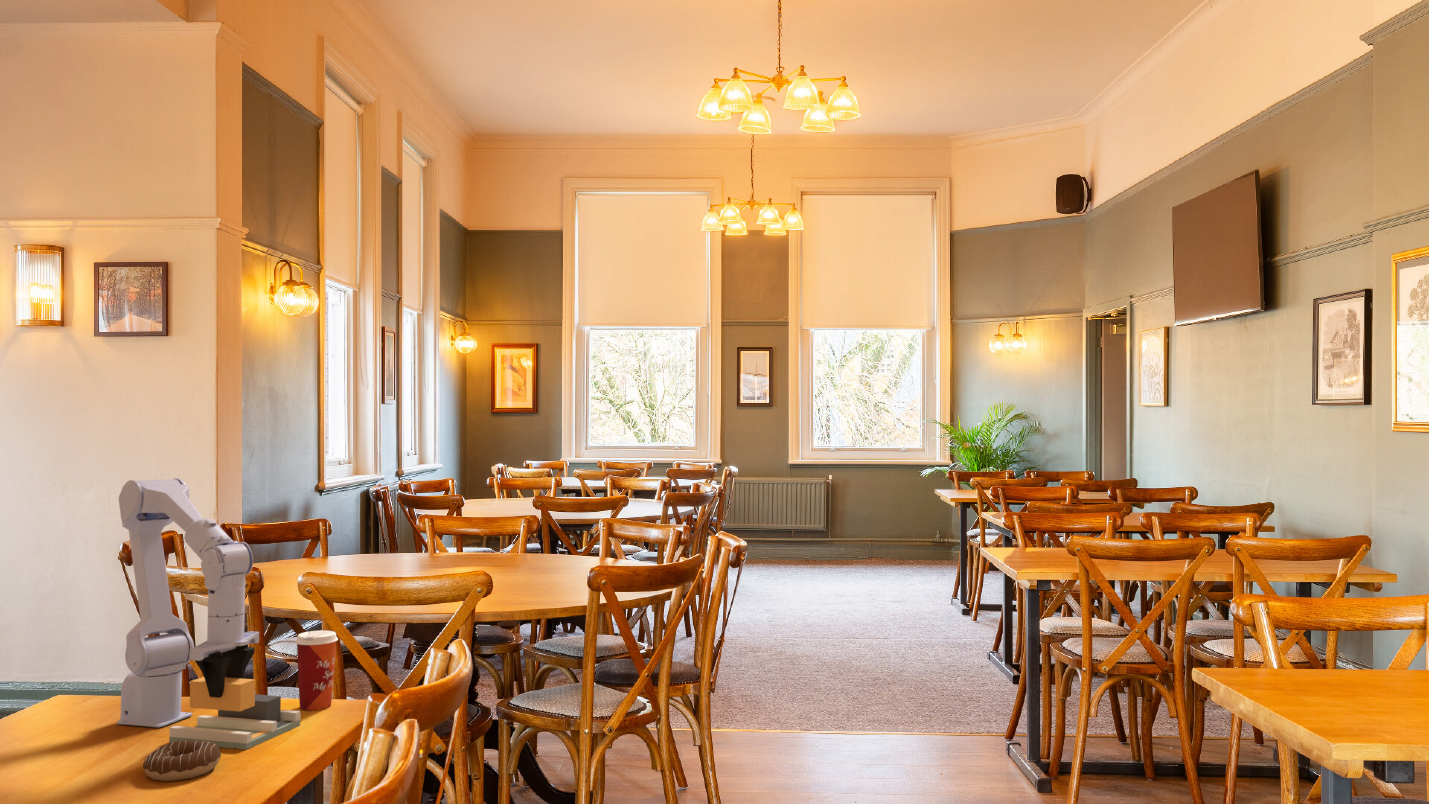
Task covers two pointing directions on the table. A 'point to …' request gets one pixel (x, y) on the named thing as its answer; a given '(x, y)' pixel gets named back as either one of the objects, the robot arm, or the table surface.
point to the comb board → (235, 730)
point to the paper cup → (316, 669)
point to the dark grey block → (258, 709)
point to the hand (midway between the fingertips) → (224, 693)
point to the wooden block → (224, 695)
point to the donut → (182, 760)
